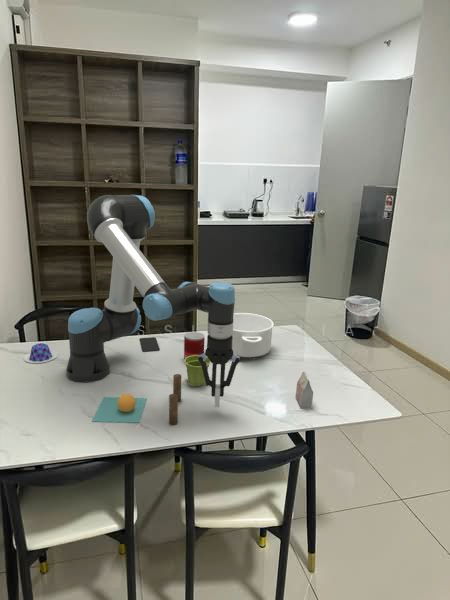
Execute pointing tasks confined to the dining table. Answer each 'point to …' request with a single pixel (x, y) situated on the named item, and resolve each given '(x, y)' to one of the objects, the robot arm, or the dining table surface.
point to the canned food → (193, 344)
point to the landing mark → (118, 411)
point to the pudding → (40, 353)
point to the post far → (177, 386)
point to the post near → (173, 409)
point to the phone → (149, 344)
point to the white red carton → (304, 392)
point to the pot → (251, 335)
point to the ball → (126, 403)
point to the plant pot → (195, 370)
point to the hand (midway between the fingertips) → (216, 404)
